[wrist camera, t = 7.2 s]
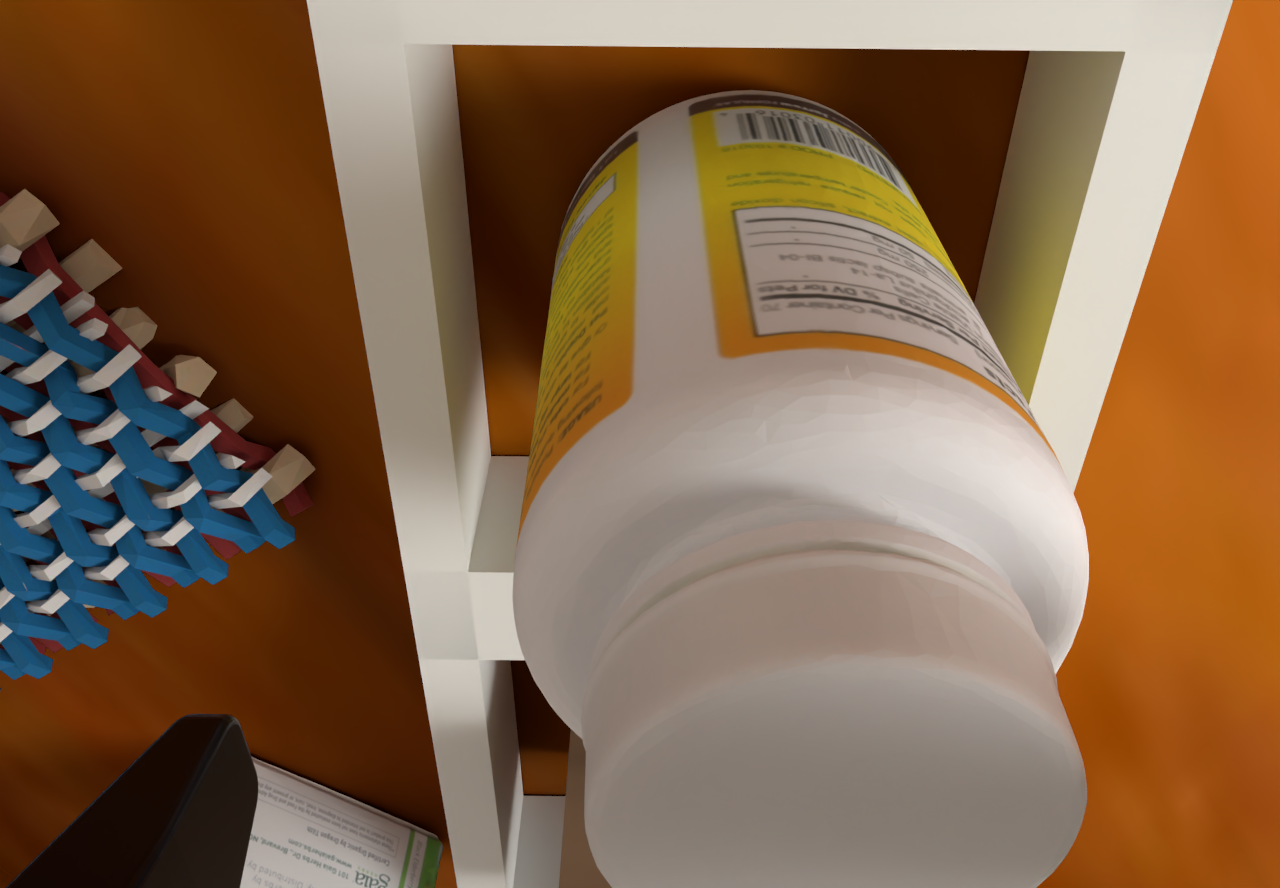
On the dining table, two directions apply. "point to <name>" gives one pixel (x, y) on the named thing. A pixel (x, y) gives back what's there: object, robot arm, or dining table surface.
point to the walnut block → (577, 827)
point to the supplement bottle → (792, 526)
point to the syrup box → (331, 840)
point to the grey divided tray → (447, 308)
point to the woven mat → (110, 456)
